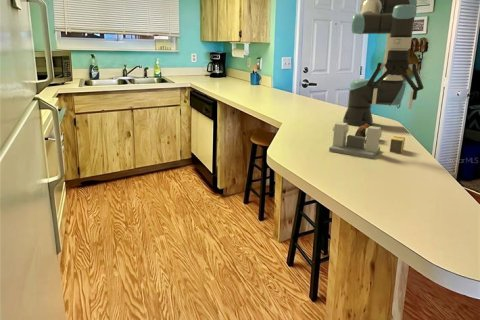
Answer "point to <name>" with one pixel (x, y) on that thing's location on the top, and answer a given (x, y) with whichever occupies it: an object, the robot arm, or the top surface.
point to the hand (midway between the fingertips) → (391, 106)
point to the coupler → (397, 144)
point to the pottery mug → (362, 132)
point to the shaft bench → (356, 141)
